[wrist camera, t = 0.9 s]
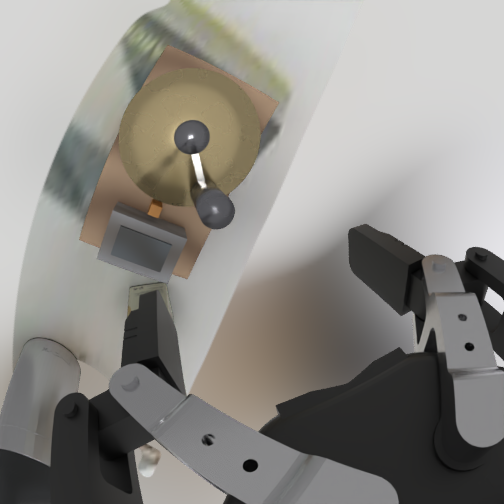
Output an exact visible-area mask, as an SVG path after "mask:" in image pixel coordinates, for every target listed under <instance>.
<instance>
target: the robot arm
mask: <svg viewBox="0 0 504 504" xmlns="http://www.w3.org/2000/svg"><path fill="white" fill-rule="evenodd" d="M348 239H349V264H350V267H351V269H352V271H353V273H354V274H355V275H356V276H357V277H358V278H359V279H361V280H362V281H363V282H364V283H365V284H366V285H367V286H369V287H370V288H371V289H372V290H373V291H374V292H375V293H376V294H378V295H379V296H380V297H381V298H382V299H383V300H384V301H385V302H387V303H388V304H389V305H390V306H391V307H392V308H393V309H394V310H395V311H396V312H397V313H398V314H399V315H401V316H402V315H404V314H406V313H408V312H409V311H413V317H412V323H413V335H414V353H410V354H405V353H404V352H403V351H402V349H401V348H400V347H399V348H397V349H395V350H394V351H392V352H390V353H388V354H387V355H385V356H383V357H381V358H379V359H377V360H375V361H374V362H372V363H371V364H370V365H369V366H368V367H367V368H366V369H365V370H363V371H362V372H361V373H360V374H359V375H358V376H357V377H355V378H354V379H353V380H352V381H350V382H349V383H347V384H344V385H340V386H336V387H331V388H327V389H321V390H316V391H312V392H309V393H306V394H303V395H301V396H298V397H296V398H294V399H291V400H288V401H286V402H283V403H280V404H278V405H276V408H277V412H278V415H277V416H276V417H274V418H273V419H272V420H270V421H269V422H268V423H267V424H265V425H264V426H263V427H262V428H261V429H260V430H259V431H258V432H257V431H255V430H253V429H251V428H250V427H248V426H246V425H244V424H242V423H240V422H238V421H237V420H235V419H233V418H231V417H230V416H228V415H226V414H225V413H223V412H221V411H220V410H218V409H216V408H215V407H213V406H211V405H210V404H208V403H206V402H205V401H203V400H202V399H200V398H198V397H197V396H195V395H192V394H189V395H188V396H186V392H185V386H184V380H183V374H182V367H181V360H180V353H179V345H178V338H177V332H176V328H175V325H174V322H173V320H172V318H171V316H170V313H169V311H168V309H167V307H166V305H165V302H164V300H163V298H162V296H161V293H160V292H159V290H154V291H151V292H148V293H144V294H141V295H140V296H139V308H138V309H136V310H133V311H131V312H130V314H129V316H128V317H127V319H126V321H125V329H124V331H125V332H124V340H123V350H122V363H121V368H120V369H119V370H117V371H116V372H115V373H114V375H113V376H112V378H111V380H110V382H109V389H108V390H107V391H105V392H103V393H101V394H99V395H98V396H96V397H94V398H92V399H90V400H88V399H87V398H86V397H85V396H84V395H83V394H81V393H78V386H79V380H80V374H81V371H80V366H79V363H78V361H77V359H76V358H75V357H74V356H73V354H72V353H71V352H70V351H68V350H67V349H66V348H65V347H63V346H62V345H60V344H58V343H56V342H54V341H51V340H48V339H42V338H36V339H32V340H30V341H28V342H27V343H26V344H25V345H24V347H23V350H22V352H21V355H20V357H19V360H18V362H17V365H16V367H15V370H14V373H13V375H12V378H11V381H10V384H9V387H8V390H7V393H6V397H5V400H4V403H3V407H2V410H1V414H0V504H143V501H142V496H141V491H140V487H139V480H138V475H137V468H136V462H135V455H134V450H135V449H137V448H139V447H141V446H143V445H145V444H147V443H148V442H150V441H152V440H154V439H155V440H156V441H157V442H158V443H159V444H160V445H162V446H163V447H164V448H165V449H166V450H168V451H169V452H170V453H171V454H172V455H173V456H175V457H176V458H177V459H178V460H180V461H181V462H182V463H184V464H185V465H186V466H187V467H189V468H190V469H191V470H193V471H194V472H195V473H196V474H198V475H199V476H200V477H202V478H203V479H204V480H206V481H207V482H209V483H210V484H212V485H213V486H214V487H216V488H217V489H219V490H220V491H222V492H223V493H225V494H227V496H226V499H225V501H224V503H223V504H504V368H503V367H498V366H497V364H496V360H495V356H494V352H493V350H494V351H495V352H496V353H497V354H498V355H499V356H500V357H501V358H502V359H503V360H504V312H503V314H502V315H501V314H500V313H499V312H498V311H497V310H495V309H494V308H493V307H492V306H491V305H490V304H488V303H487V302H486V301H485V300H484V298H485V295H486V292H487V289H488V287H490V288H491V289H492V290H493V291H495V292H496V293H497V294H499V295H500V296H501V297H502V298H503V300H504V260H502V259H501V258H499V257H498V256H496V255H495V254H493V253H492V252H490V251H488V250H486V249H484V248H480V247H472V248H469V249H468V250H467V251H466V257H465V261H460V262H455V263H454V262H453V261H452V260H451V259H449V258H447V257H445V256H442V255H429V256H426V257H425V256H424V255H422V254H420V253H419V252H417V251H416V250H414V249H413V248H411V247H409V246H408V245H404V243H403V242H401V241H398V239H396V238H395V237H393V236H391V235H390V234H386V233H383V232H380V231H378V230H376V229H374V228H372V227H371V226H369V225H367V224H363V225H360V226H357V227H354V228H351V229H350V230H349V233H348Z"/></svg>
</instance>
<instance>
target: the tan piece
mask: <svg viewBox="0 0 504 504" xmlns="http://www.w3.org/2000/svg"><path fill="white" fill-rule="evenodd" d="M186 68H199V69H206V70H210V71H214V72H217V73H220V74H222V75H224V76H226V77H228V78H229V79H231V80H232V81H234V82H235V83H236V84H238V85H239V86H240V87H241V88H242V89H243V90H244V91H245V92H246V94H247V95H248V96H249V98H250V99H251V101H252V103H253V105H254V107H255V109H256V112H257V114H258V118H259V122H260V136H261V134H262V132H263V130H264V128H265V127H266V125H267V123H268V121H269V119H270V118H271V116H272V114H273V112H274V111H275V109H276V107H277V105H278V104H279V102H277V101H276V100H274V99H272V98H271V97H269V96H267V95H266V94H264V93H262V92H261V91H259V90H257V89H256V88H254V87H252V86H250V85H249V84H247V83H245V82H243V81H241V80H240V79H238V78H236V77H234V76H232V75H230V74H228V73H227V72H225V71H223V70H221V69H219V68H217V67H215V66H213V65H211V64H209V63H207V62H205V61H203V60H201V59H199V58H196V57H194V56H192V55H190V54H188V53H185V52H183V51H181V50H179V49H176V48H174V47H172V46H169V45H167V47H166V48H165V50H164V51H163V53H162V55H161V56H160V58H159V59H158V61H157V62H156V64H155V66H154V67H153V69H152V71H151V72H150V74H149V76H148V77H147V79H146V81H145V83H144V84H143V86H142V88H143V87H144V86H145V85H146V84H148V83H149V82H150V81H152V80H154V79H155V78H157V77H159V76H161V75H163V74H165V73H168V72H171V71H175V70H179V69H186ZM142 88H141V89H142ZM228 195H229V193H228V194H227V195H226V196H227V197H228ZM210 231H211V228H208V227H206V226H205V225H204V224H203V223H202V221H201V219H200V217H199V215H198V213H197V211H196V208H195V206H191V207H180V206H173V205H169V204H165V203H162V202H160V201H157V200H155V199H153V198H152V197H150V196H148V195H147V194H145V193H144V192H143V191H142V190H140V189H139V188H138V187H137V186H136V185H135V184H134V182H133V181H132V180H131V178H130V177H129V175H128V174H127V172H126V170H125V168H124V166H123V163H122V160H121V156H120V151H119V133H118V135H117V137H116V140H115V142H114V144H113V146H112V149H111V151H110V153H109V156H108V158H107V161H106V163H105V165H104V168H103V170H102V173H101V176H100V178H99V181H98V183H97V186H96V189H95V192H94V194H93V197H92V200H91V203H90V206H89V209H88V212H87V215H86V218H85V222H84V225H83V228H82V232H81V235H80V239H79V240H81V241H83V242H86V243H89V244H91V245H94V246H96V247H99V248H100V250H99V253H98V256H97V259H99V260H101V261H104V262H107V263H109V264H112V265H115V266H118V267H120V268H123V269H126V270H129V271H131V272H134V273H137V274H140V275H143V276H146V277H149V278H152V279H154V280H157V281H160V282H163V283H166V284H168V282H169V279H170V277H171V275H172V274H174V275H176V276H179V277H182V278H185V279H188V277H189V274H190V272H191V270H192V268H193V266H194V264H195V262H196V260H197V258H198V256H199V254H200V251H201V249H202V247H203V245H204V243H205V241H206V239H207V237H208V235H209V233H210Z"/></svg>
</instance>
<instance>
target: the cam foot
mask: <svg viewBox="0 0 504 504" xmlns="http://www.w3.org/2000/svg"><path fill="white" fill-rule="evenodd" d="M259 146H260V122H259V118H258V114H257V112H256V109H255V107H254V105H253V103H252V101H251V99H250V98H249V96H248V95H247V94H246V92H245V91H244V90H243V89H242V88H241V87H240V86H239V85H238V84H236V83H235V82H234V81H232V80H231V79H229V78H228V77H226V76H224V75H222V74H220V73H217V72H214V71H210V70H206V69H199V68H186V69H179V70H175V71H171V72H168V73H165V74H163V75H161V76H159V77H157V78H155V79H154V80H152V81H150V82H149V83H148V84H146V85H145V86H144V87H143V88H142V89H141V90H140V91H139V92H138V93H137V94H136V95H135V96H134V98H133V99H132V100H131V102H130V103H129V105H128V107H127V109H126V111H125V113H124V115H123V118H122V121H121V125H120V129H119V151H120V156H121V160H122V163H123V166H124V168H125V170H126V172H127V174H128V175H129V177H130V178H131V180H132V181H133V182H134V184H135V185H136V186H137V187H138V188H139V189H140V190H142V191H143V192H144V193H145V194H147V195H148V196H150V197H152V198H153V199H155V200H157V201H160V202H162V203H165V204H169V205H173V206H180V207H191V206H195V208H196V211H197V213H198V215H199V217H200V219H201V221H202V223H203V224H204V225H205V226H206V227H208V228H211V229H221V228H224V227H226V226H227V225H228V224H229V223H230V222H231V221H232V219H233V217H234V214H235V208H234V205H233V203H232V201H231V200H230V199H229V198H228V197H227V196H226V195H227V194H228V193H230V192H231V191H233V190H234V189H235V188H236V187H237V186H238V185H239V184H240V183H241V182H242V181H243V180H244V179H245V177H246V176H247V175H248V173H249V172H250V170H251V168H252V166H253V165H254V162H255V160H256V157H257V154H258V151H259Z"/></svg>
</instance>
